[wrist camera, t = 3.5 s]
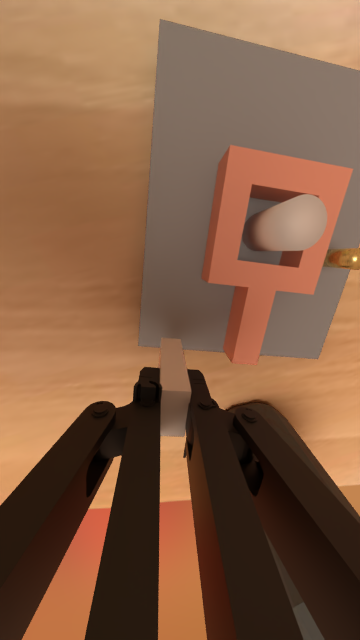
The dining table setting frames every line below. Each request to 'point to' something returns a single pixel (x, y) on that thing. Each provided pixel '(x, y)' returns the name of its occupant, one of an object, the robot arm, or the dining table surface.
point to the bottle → (290, 436)
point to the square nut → (295, 266)
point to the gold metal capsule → (343, 258)
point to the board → (262, 215)
